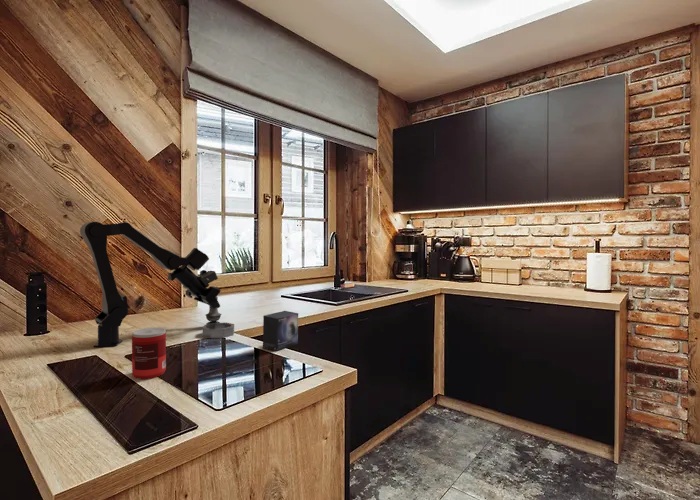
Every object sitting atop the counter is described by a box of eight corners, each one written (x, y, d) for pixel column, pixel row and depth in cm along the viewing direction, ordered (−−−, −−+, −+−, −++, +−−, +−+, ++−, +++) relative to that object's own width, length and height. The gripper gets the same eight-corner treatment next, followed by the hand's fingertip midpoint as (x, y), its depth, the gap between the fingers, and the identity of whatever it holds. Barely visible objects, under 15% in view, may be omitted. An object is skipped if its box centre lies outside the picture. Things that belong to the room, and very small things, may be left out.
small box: (277, 351, 117) (277, 317, 117) (261, 348, 121) (261, 315, 120) (299, 343, 126) (299, 312, 126) (284, 340, 130) (284, 310, 129)
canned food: (157, 366, 103) (157, 326, 102) (171, 373, 98) (171, 330, 97) (126, 374, 97) (126, 331, 96) (140, 382, 92) (139, 336, 91)
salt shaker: (216, 325, 144) (216, 294, 144) (202, 324, 146) (202, 293, 145) (224, 322, 150) (224, 292, 150) (210, 321, 151) (211, 291, 151)
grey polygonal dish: (232, 337, 133) (232, 328, 133) (201, 338, 131) (201, 330, 131) (234, 330, 143) (234, 322, 143) (205, 331, 141) (205, 323, 141)
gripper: (215, 265, 138) (242, 293, 146) (193, 262, 151) (219, 288, 159) (193, 288, 133) (223, 316, 141) (173, 283, 146) (200, 309, 154)
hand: (217, 306), depth 149 cm, fingers closed on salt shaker, 4 cm apart
